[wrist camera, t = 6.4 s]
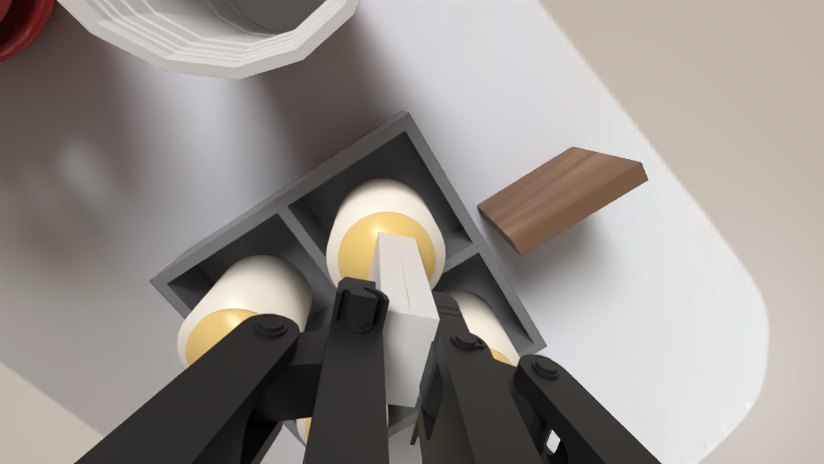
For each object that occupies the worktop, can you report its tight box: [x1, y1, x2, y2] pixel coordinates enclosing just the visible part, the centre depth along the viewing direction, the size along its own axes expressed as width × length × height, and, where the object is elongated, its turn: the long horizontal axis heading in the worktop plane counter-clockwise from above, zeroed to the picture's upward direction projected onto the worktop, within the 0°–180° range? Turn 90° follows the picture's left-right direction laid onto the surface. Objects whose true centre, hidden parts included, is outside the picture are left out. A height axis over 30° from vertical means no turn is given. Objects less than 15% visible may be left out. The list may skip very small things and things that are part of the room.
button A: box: [177, 255, 312, 370], centre depth 20 cm, size 5×5×5 cm
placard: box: [477, 147, 648, 256], centre depth 23 cm, size 1×7×7 cm, turn 122°
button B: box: [326, 178, 446, 290], centre depth 20 cm, size 5×5×5 cm
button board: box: [149, 111, 547, 447], centre depth 25 cm, size 16×16×4 cm
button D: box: [442, 290, 520, 367], centre depth 22 cm, size 5×5×5 cm
